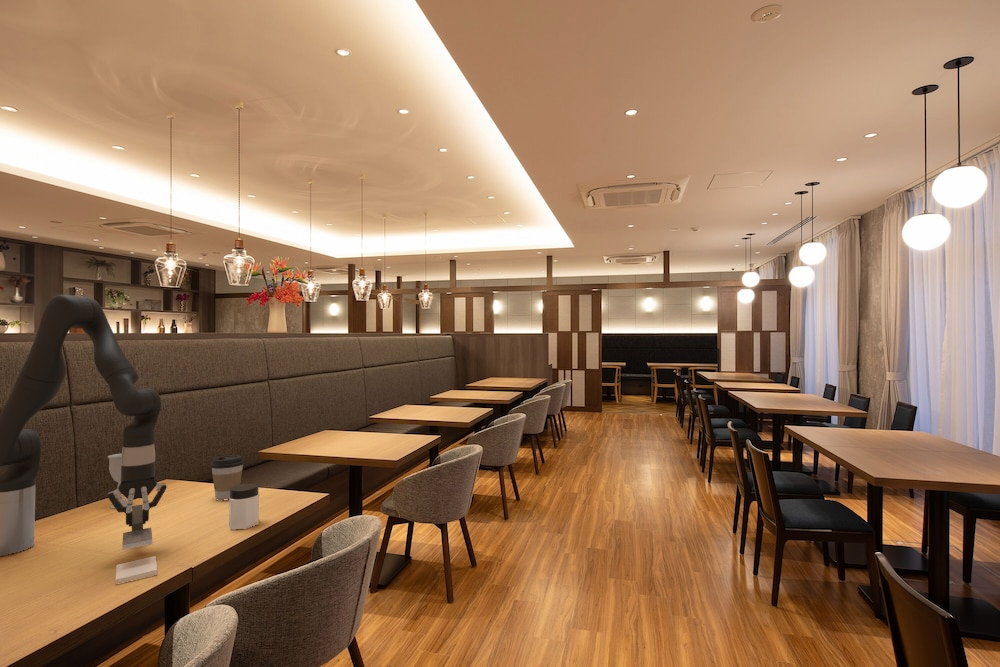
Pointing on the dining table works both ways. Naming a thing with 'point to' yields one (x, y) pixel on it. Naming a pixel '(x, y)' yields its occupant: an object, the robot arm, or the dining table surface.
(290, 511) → the dining table surface
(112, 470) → the chalice
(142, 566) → the tile
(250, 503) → the jar
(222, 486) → the coffee cup
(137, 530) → the turner
